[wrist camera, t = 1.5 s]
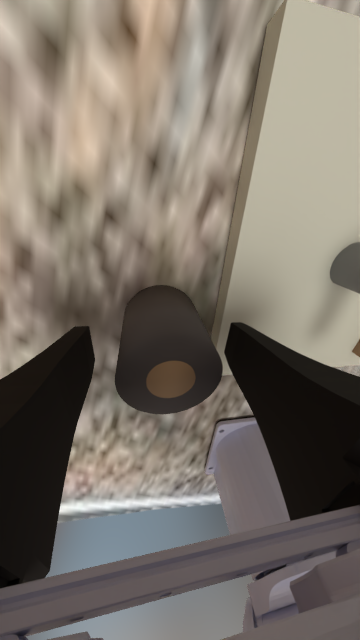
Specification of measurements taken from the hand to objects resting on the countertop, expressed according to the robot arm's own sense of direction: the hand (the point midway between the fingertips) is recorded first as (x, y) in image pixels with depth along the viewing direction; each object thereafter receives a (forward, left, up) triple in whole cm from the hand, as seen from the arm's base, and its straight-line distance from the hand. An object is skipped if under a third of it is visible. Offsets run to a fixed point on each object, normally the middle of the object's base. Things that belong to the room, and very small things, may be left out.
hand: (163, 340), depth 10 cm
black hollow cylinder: (0, 0, -2) cm, 2 cm away
